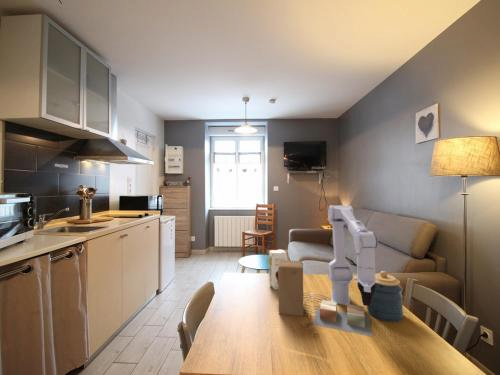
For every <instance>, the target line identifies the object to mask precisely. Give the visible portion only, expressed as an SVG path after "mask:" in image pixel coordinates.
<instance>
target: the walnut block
mask: <svg viewBox="0 0 500 375" xmlns="http://www.w3.org/2000/svg"><path fill="white" fill-rule="evenodd" d="M346 313H347V324H350V325H355V326H360V327H365V316H366V315H365V306H364V305H363V306H362V305H361V306H360V305H355V304H351V303H350V304H347V305H346Z"/></svg>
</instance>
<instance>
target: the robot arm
mask: <svg viewBox="0 0 500 375" xmlns="http://www.w3.org/2000/svg"><path fill="white" fill-rule="evenodd" d="M354 213H355V212H354V207H353V206H352V205H350V204H348V205H347V204H346V205H345V204H344V205H332V204H331V205H329V207H328V208H327V220H328V223H329V224H331V227H332V242H333V245H332V246H333V260H331V261H330V262H329V263H328V266H327V276H328V279H329V281H330V282H331V299H330V301H332V302H337V305H344V306H347V304H350V305H351V296H350V290H349V289H350V286H349V285H350V284H351V282H352V281H353V280H354V281H357V282H356V283H357V289H358V290H359V292H360V296H361V300H362V305H363V306H364V307H367V306H370V304H371V299H372V295H373V293H374V291H375V289H376V288H375V283H376V280H375V274H376V259H375V258H376V256H375V255H376V253H375V250H376V249H377V248H378V247H379V238H378V235H377V234H376V232H375V231H371V230H368V229H367V227H366V226H365V224H363V222H362V221H361V220H357V219H356V217H355V215H354ZM345 224H347V230H348V231H349V233H350V235H351V236H352V237H353V244H354V248H355V249H354V251H355V253H356V276H355V275H354V273H353V268H352V264H351V263H350V262H348V261H347V260H346V248H345V247H346V246H345V234H344V232H345V230H344V225H345Z"/></svg>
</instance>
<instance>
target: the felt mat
mask: <svg viewBox="0 0 500 375" xmlns="http://www.w3.org/2000/svg"><path fill="white" fill-rule="evenodd" d="M312 325H314V326H320V327H324V328H329V329H334V330H338V331H343V332H347V333H354V334H357V335H358V334H359V335H363V336H368V337H373V333H372V328H371V320H370V316H368V315H365V327H360V326H355V325H350V324H347V311H339V310H337V316H336V322H334V321H329V320H324V319H320V307H317V308H316V310H315V315H314V319H313V322H312Z"/></svg>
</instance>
